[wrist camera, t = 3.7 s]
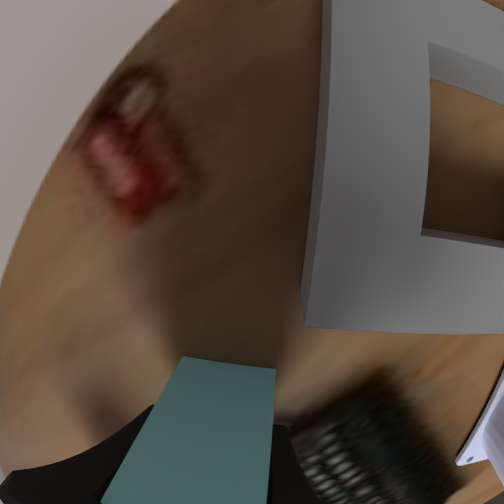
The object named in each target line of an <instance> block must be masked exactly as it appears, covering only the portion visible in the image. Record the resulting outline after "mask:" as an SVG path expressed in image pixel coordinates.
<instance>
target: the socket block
mask: <svg viewBox="0 0 504 504" xmlns="http://www.w3.org/2000/svg"><path fill="white" fill-rule="evenodd" d="M430 79H433V80H436V81H439V82H442V83H445V84H449V85H452V86H454V87H457V88H460V89H463V90H466V91H469V92H471V93H474V94H477V95H479V96H482V97H484V98H487V99H489V100H492V101H494V102H496V103H499V104H501V105H503V106H504V11H502V10H500V9H498V8H496V7H494V6H493V5H491V4H489V3H487V2H485V1H483V0H323V6H322V48H321V72H320V91H319V108H318V123H317V137H316V150H315V162H314V173H313V184H312V194H311V204H310V214H309V223H308V232H307V241H306V249H305V258H304V266H303V273H302V281H301V288H300V297H301V304H302V311H303V319H304V327H313V328H325V329H339V330H353V331H370V332H390V333H418V334H504V241H501V240H496V239H490V238H485V237H479V236H473V235H467V234H461V233H455V232H449V231H443V230H437V229H430V228H424V227H422V221H423V214H424V206H425V197H426V187H427V176H428V163H429V145H430Z"/></svg>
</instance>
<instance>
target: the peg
mask: <svg viewBox="0 0 504 504" xmlns="http://www.w3.org/2000/svg"><path fill="white" fill-rule="evenodd" d="M275 382H276V369H272V368H263V367H254V366H246V365H238V364H231V363H224V362H217V361H210V360H204V359H198V358H192V357H186V356H183V357H182V358H181V360H180V362H179V364H178V365H177V367H176V369H175V371H174V372H173V374H172V376H171V378H170V379H169V381H168V383H167V385H166V386H165V388H164V390H163V392H162V393H161V395H160V397H159V399H158V400H157V402H156V404H155V406H154V407H153V409H152V411H151V413H150V414H149V416H148V418H147V420H146V421H145V423H144V425H143V427H142V428H141V430H140V432H139V434H138V436H137V437H136V439H135V441H134V443H133V444H132V446H131V448H130V450H129V451H128V453H127V455H126V457H125V459H124V460H123V462H122V464H121V466H120V467H119V469H118V471H117V473H116V475H115V476H114V478H113V480H112V482H111V483H110V485H109V487H108V489H107V491H106V492H105V494H104V496H103V498H102V499H101V501H100V502H101V504H266V501H267V490H268V478H269V466H270V454H271V441H272V427H273V413H274V398H275Z"/></svg>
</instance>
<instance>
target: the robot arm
mask: <svg viewBox="0 0 504 504" xmlns="http://www.w3.org/2000/svg"><path fill="white" fill-rule="evenodd" d="M154 406H155V405H153V404H152V405H151V406H149V407H148V408H147V409H146V410H145V411H143V412H142V413H141V414H140V415H139V416H137V417H136V418H135V419H134V420H132V421H131V422H130V423H129V424H127V425H126V426H125V427H123V428H122V429H121V430H119V431H118V432H116V433H115V434H114V435H112V436H110V437H109V438H107V439H106V440H104V441H103V442H101V443H99V444H98V445H96V446H94V447H92V448H90V449H88V450H86V451H84V452H82V453H80V454H78V455H76V456H73V457H71V458H68V459H65V460H63V461H60V462H57V463H53V464H50V465H46V466H41V467H37V468H31V469H24V470H15V471H12V472H11V473H10V474H9V475H8V476H7V478H6V479H5V480H4V481H3V482H2V484H1V485H0V499H1V501H2V502H3V503H4V504H101V502H100V501H101V499H102V498H103V496H104V494H105V492H106V491H107V489H108V487H109V485H110V483H111V482H112V480H113V478H114V476H115V475H116V473H117V471H118V469H119V467H120V466H121V464H122V462H123V460H124V459H125V457H126V455H127V453H128V451H129V450H130V448H131V446H132V444H133V443H134V441H135V439H136V437H137V436H138V434H139V432H140V430H141V428H142V427H143V425H144V423H145V421H146V420H147V418H148V416H149V414H150V413H151V411H152V409H153V407H154ZM485 459H489V460H490V462H491V464H492V466H493V467H494V469H495V471H496V473H497V474H498V476H499V478H500V480H501V482H502V483H503V485H504V370H503V372H502V374H501V377H500V379H499V381H498V383H497V385H496V388H495V390H494V392H493V394H492V396H491V398H490V400H489V402H488V404H487V406H486V408H485V410H484V412H483V414H482V416H481V418H480V419H479V421H478V423H477V425H476V427H475V428H474V430H473V432H472V434H471V435H470V437H469V439H468V440H467V442H466V444H465V445H464V447H463V449H462V450H461V452H460V453H459V455H458V457H457V458H456V460H455V461H456V464H457V465H458V466H461V465H465V464H469V463H474V462H477V461H481V460H485ZM266 504H322V502H321V501H320V499H319V498H318V496H317V495H316V493H315V492H314V490H313V489H312V487H311V485H310V483H309V482H308V480H307V478H306V476H305V474H304V472H303V470H302V468H301V466H300V463H299V461H298V459H297V456H296V454H295V451H294V448H293V445H292V442H291V439H290V435H289V431H288V427H287V426H285V425H273V427H272V441H271V454H270V466H269V478H268V490H267V501H266Z"/></svg>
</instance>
